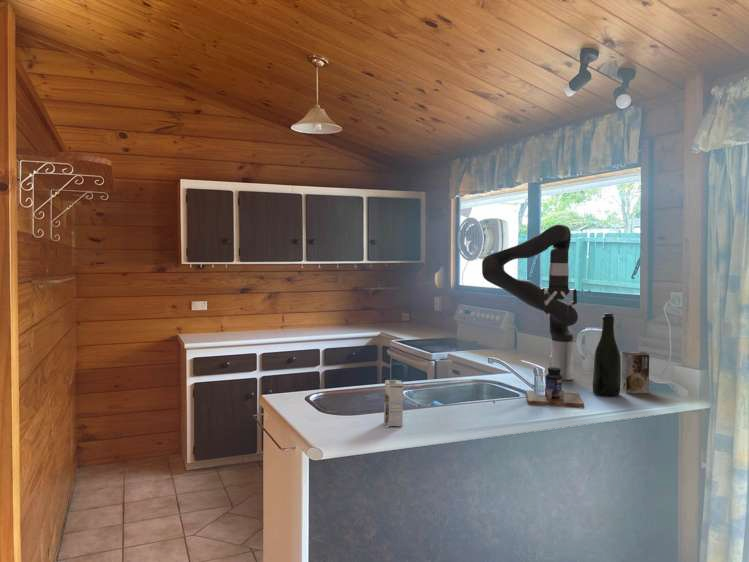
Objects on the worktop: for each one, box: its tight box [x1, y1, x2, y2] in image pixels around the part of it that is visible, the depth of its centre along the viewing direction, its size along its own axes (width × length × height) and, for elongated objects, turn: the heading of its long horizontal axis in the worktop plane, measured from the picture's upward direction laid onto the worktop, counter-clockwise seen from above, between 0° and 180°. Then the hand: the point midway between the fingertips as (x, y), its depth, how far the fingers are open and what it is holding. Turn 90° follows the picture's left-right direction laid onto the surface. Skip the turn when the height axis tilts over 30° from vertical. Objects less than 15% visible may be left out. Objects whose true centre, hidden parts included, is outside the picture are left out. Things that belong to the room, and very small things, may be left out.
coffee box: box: [620, 351, 650, 394], centre depth 243 cm, size 9×6×16 cm
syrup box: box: [383, 379, 404, 427], centre depth 196 cm, size 6×6×14 cm
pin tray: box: [525, 390, 585, 409], centre depth 228 cm, size 20×16×5 cm
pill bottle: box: [544, 367, 563, 398], centre depth 228 cm, size 6×6×11 cm
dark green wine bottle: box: [592, 312, 622, 398], centre depth 238 cm, size 10×10×33 cm
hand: (557, 314), depth 239 cm, fingers open, 8 cm apart
